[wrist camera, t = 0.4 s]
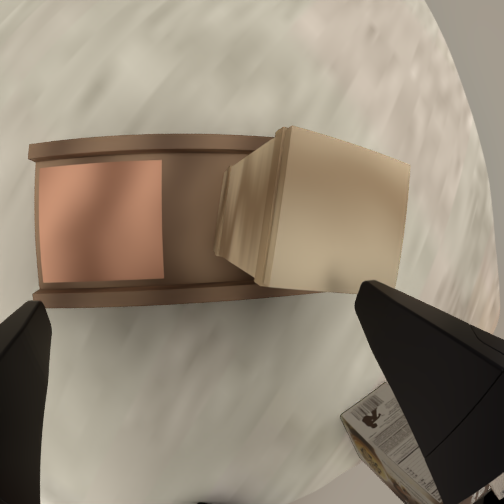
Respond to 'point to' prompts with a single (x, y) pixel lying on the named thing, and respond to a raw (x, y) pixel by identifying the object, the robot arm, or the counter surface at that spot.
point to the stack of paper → (313, 214)
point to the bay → (136, 221)
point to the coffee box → (393, 448)
